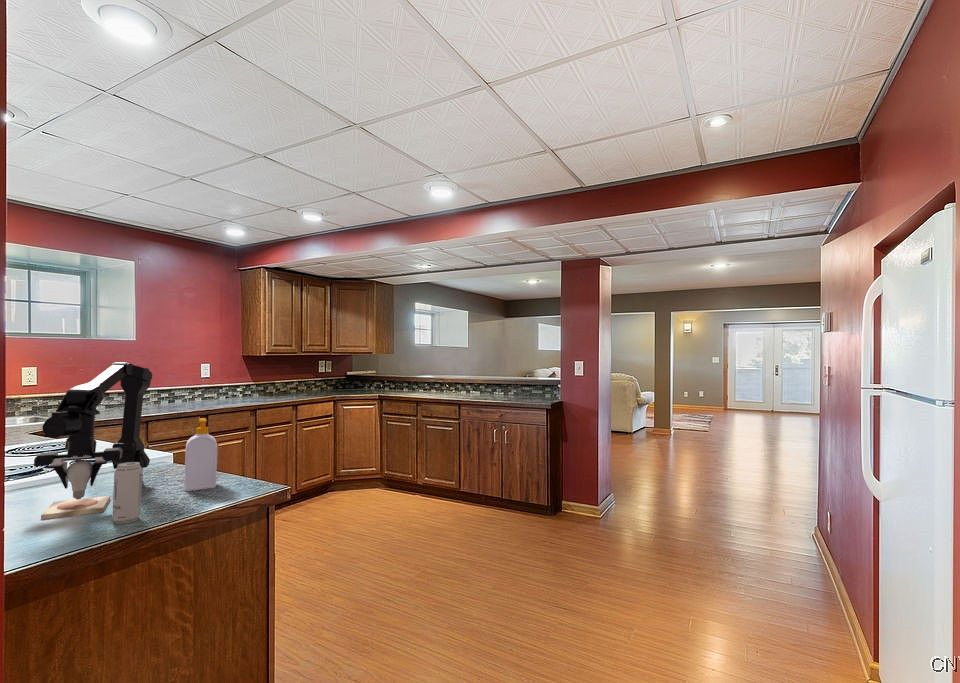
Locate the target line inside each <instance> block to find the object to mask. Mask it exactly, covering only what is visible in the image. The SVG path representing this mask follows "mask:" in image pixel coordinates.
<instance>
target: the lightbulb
mask: <svg viewBox="0 0 960 683" xmlns="http://www.w3.org/2000/svg"><path fill="white" fill-rule="evenodd" d="M92 467H93V463H92V462H90V461H88V460H86V459H84V460H75V461H74V462H72V463H70V464H69V465H68V466H67V471H66V475H67V478H68V482H70V485H71V491H72V498H74V499H83V498H84V497H85V495H86V494H85V493H86V490H87V487H88V483H89V482H90V480H91V474H92Z"/></svg>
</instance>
